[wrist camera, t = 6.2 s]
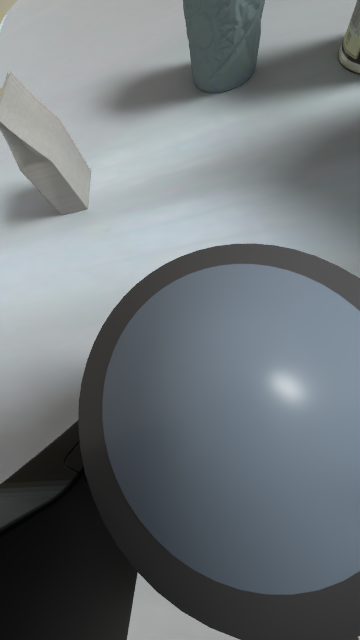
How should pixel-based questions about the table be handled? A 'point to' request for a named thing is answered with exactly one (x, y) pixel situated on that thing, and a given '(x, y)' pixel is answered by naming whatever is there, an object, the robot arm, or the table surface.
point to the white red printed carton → (43, 148)
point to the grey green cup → (223, 41)
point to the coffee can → (352, 43)
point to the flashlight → (234, 439)
